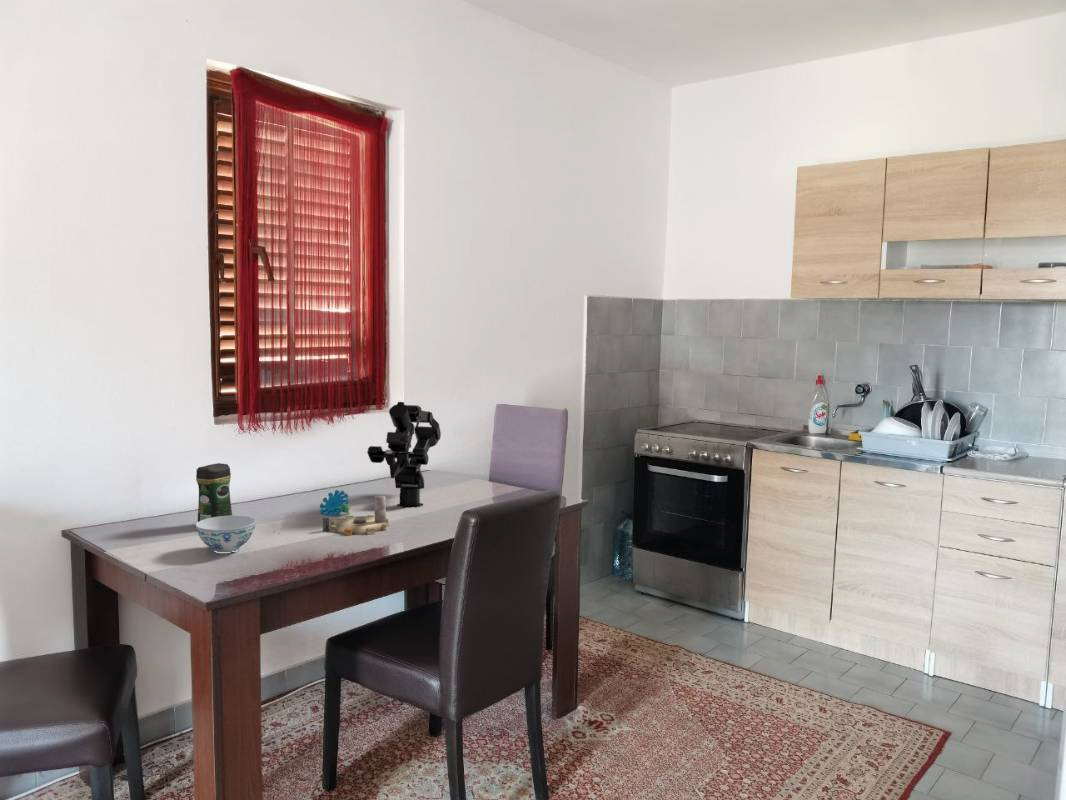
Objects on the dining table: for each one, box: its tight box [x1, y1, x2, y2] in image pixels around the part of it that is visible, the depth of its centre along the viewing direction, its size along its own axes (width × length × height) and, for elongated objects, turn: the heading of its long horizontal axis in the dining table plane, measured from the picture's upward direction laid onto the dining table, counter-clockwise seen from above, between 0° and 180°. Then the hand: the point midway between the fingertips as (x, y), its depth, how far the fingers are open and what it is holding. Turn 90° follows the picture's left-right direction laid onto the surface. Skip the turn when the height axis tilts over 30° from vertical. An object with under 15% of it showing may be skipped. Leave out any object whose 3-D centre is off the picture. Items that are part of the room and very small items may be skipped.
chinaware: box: [195, 515, 257, 552], centre depth 217 cm, size 15×15×8 cm
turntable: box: [329, 495, 390, 536], centre depth 241 cm, size 17×17×9 cm
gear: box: [319, 489, 351, 517], centre depth 259 cm, size 11×6×10 cm
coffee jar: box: [195, 462, 233, 522], centre depth 242 cm, size 10×8×19 cm
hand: (392, 477), depth 252 cm, fingers closed
